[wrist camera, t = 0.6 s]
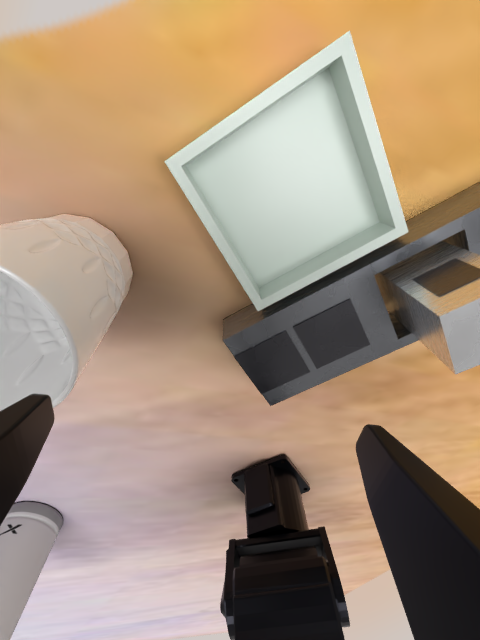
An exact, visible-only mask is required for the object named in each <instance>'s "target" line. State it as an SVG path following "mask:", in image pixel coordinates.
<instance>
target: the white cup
mask: <svg viewBox="0 0 480 640" xmlns="http://www.w3.org/2000/svg"><path fill="white" fill-rule="evenodd" d="M132 276H133V271H132V267H131V263H130V258H129V254H128V251H127V250H126V249H125V247H124V246H123V245H122V243H121V242H120V241H119V239H118V238H117V237H116V235H115V234H114V233H113V232H112V231H111V230H109V229H107V228H106V227H104V226H103V225H101V224H99V223H98V222H96V221H94V220H93V219H91V218H88V217H82V216H76V215H70V214H61V215H56V216H52V217H48V218H39V219H28V220H22V221H16V222H11V223H5V224H0V411H1V410H3V409H5V408H7V407H8V406H10V405H12V404H14V403H16V402H18V401H19V400H21V399H23V398H25V397H27V396H28V395H31V394H46V395H49V396H50V397H51V401H52V406H53V408H54V407H55V406H57V405H58V404H60V403H61V402H62V401H63V400H64V399H65V398H66V397H67V396H68V394H69V393H70V392H71V390H72V389H73V387H74V385H75V383H76V382H77V380H78V378H79V377H80V375H81V373H82V372H83V370H84V369H85V367H86V365H87V364H88V362H89V360H90V359H91V357H92V355H93V354H94V352H95V351H96V349H97V347H98V346H99V344H100V342H101V341H102V339H103V337H104V336H105V334H106V332H107V331H108V329H109V327H110V325H111V323H112V321H113V320H114V318H115V316H116V315H117V313H118V310H119V308H120V306H121V304H122V302H123V300H124V299H125V297H126V296H127V294H128V292H129V288H130V284H131V280H132Z"/></svg>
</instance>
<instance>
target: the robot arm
mask: <svg viewBox="0 0 480 640" xmlns="http://www.w3.org/2000/svg"><path fill="white" fill-rule="evenodd" d="M53 423H54V412H53V406H52V401H51V397H50V396H49V395H46V394H31V395H28V396H27V397H25V398H23V399H21V400H19V401H18V402H16V403H14V404H12V405H10V406H8V407H7V408H5V409H3V410H1V411H0V526H1V524H2V523H3V521H4V519H5V517H6V516H7V514H8V512H9V511H10V509H11V507H12V506H13V504H14V502H15V501H16V499H17V497H18V495H19V494H20V492H21V490H22V489H23V487H24V485H25V483H26V481H27V479H28V477H29V475H30V473H31V471H32V469H33V467H34V465H35V463H36V460H37V458H38V456H39V454H40V452H41V450H42V448H43V445H44V443H45V441H46V439H47V437H48V435H49V432H50V430H51V428H52V426H53ZM356 453H357V457H358V461H359V465H360V470H361V474H362V478H363V482H364V487H365V491H366V495H367V499H368V503H369V506H370V509H371V512H372V515H373V518H374V521H375V524H376V527H377V530H378V533H379V536H380V539H381V542H382V545H383V548H384V551H385V554H386V557H387V560H388V563H389V565H390V568H391V571H392V574H393V577H394V580H395V583H396V586H397V589H398V592H399V595H400V598H401V601H402V604H403V607H404V610H405V613H406V616H407V618H408V622H409V625H410V628H411V631H412V634H413V636H414V639H415V640H480V509H479V508H477V507H476V506H475V505H474V504H473V503H472V502H470V501H469V500H468V499H467V498H466V497H464V496H463V495H462V494H461V493H460V492H458V491H457V490H456V489H455V488H454V487H453V486H451V485H450V484H449V483H448V482H447V481H445V480H444V479H443V478H442V477H441V476H439V475H438V474H437V473H436V472H435V471H434V470H432V469H431V468H430V467H429V466H428V465H426V464H425V463H424V462H423V461H422V460H421V459H419V458H418V457H417V456H416V455H415V454H413V453H412V452H411V451H410V450H409V449H407V448H406V447H405V446H404V445H403V444H402V443H400V442H399V441H398V440H397V439H396V438H394V437H393V436H392V435H391V434H390V433H388V432H387V431H386V430H385V429H384V428H382V427H381V426H379V425H369V424H368V425H366V426H365V427H364V428H363V430H362V432H361V434H360V436H359V438H358V440H357V443H356ZM232 482H233V483H234V484H235V485H236V486H237V487H238V488H239V489H240V490H241V491H242V492H243V493H244V494H245V506H246V519H247V537H248V538H247V539H239V540H236V539H231V540H229V549H228V550H227V551H226V573H225V582H224V587H223V593H222V598H221V604H220V608H221V613H222V614H223V615H224V617H225V618H226V622H227V627H228V632H229V636H230V639H231V640H344V635H343V631H342V627H349V626H350V622H349V616H348V611H347V606H346V602H345V597H344V593H343V589H342V585H341V581H340V578H339V574H338V571H337V567H336V564H335V561H334V557H333V554H332V551H331V547H330V544H329V541H328V537H327V534H326V530H325V527H318V529H311V530H309V529H308V525H307V520H306V516H305V511H304V506H303V502H302V497H301V494H302V493H305V492H308V491H309V490H310V487H309V484H308V483H307V481H306V480H305V479H304V478H303V476H302V475H301V474H300V472H299V471H298V470H297V469H296V467H295V466H294V465H293V464H292V462H291V461H290V460H289V458H288V457H287V456H285V455H281V456H278V457H276V458H273V459H271V460H268V461H266V462H263V463H261V464H258V465H256V466H253V467H251V468H248V469H246V470H243V471H241V472H238V473H236V474H233V475H232Z"/></svg>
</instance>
